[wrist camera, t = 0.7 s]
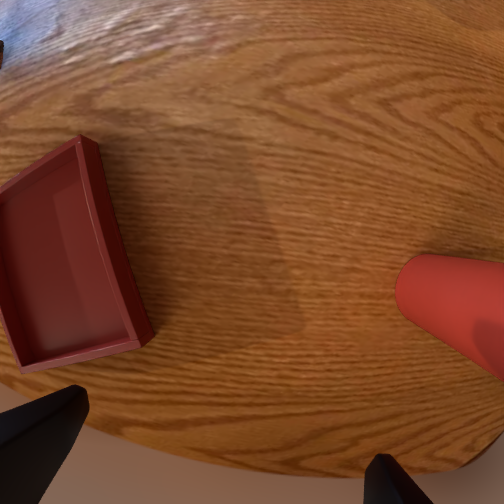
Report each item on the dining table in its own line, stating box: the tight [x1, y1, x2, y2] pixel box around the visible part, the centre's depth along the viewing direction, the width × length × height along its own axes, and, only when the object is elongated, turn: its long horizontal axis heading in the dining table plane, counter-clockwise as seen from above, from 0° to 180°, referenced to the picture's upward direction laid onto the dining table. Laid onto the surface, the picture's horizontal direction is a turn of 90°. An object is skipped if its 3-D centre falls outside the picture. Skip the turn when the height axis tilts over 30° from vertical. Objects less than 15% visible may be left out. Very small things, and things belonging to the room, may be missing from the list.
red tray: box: [0, 134, 155, 374], centre depth 21 cm, size 15×13×3 cm
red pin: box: [395, 254, 504, 382], centre depth 14 cm, size 5×5×13 cm
